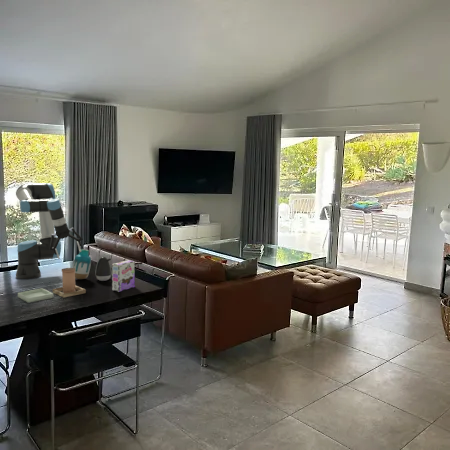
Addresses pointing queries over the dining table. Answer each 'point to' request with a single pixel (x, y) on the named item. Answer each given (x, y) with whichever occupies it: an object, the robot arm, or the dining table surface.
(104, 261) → the pump dispenser
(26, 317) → the dining table surface
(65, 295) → the oak corral
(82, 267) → the vase
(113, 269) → the candy box
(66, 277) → the canister
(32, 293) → the green tray
